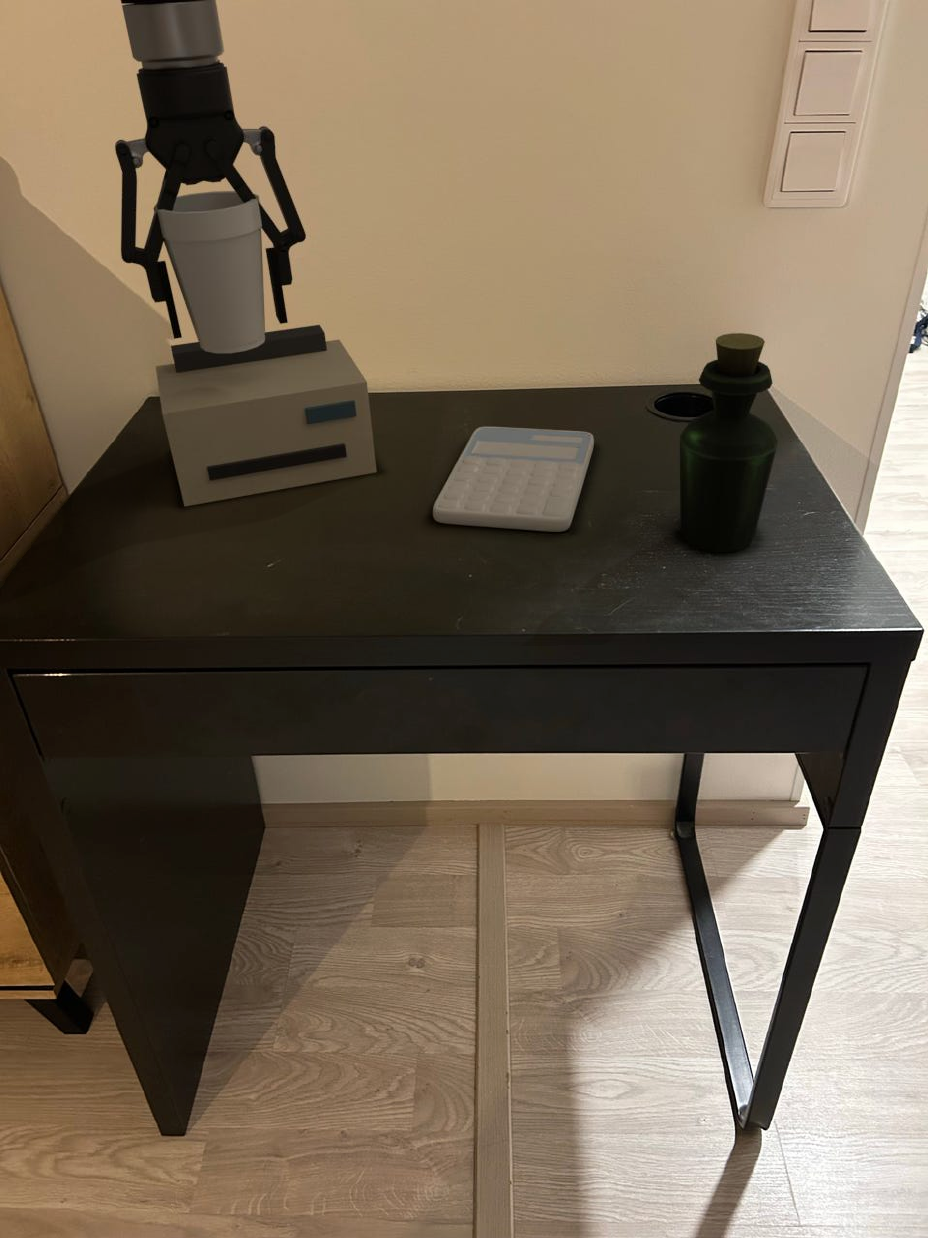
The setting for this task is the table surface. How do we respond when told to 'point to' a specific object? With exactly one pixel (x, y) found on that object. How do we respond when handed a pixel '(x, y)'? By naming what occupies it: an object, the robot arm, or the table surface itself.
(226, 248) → the foam cup
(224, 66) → the robot arm
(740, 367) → the potion bottle
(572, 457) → the calculator
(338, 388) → the printer
